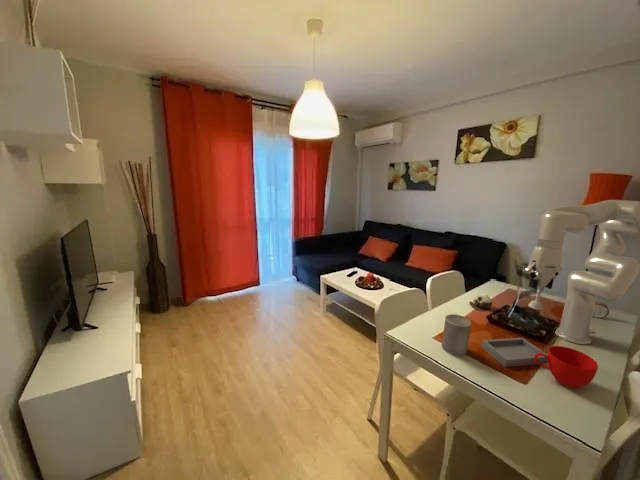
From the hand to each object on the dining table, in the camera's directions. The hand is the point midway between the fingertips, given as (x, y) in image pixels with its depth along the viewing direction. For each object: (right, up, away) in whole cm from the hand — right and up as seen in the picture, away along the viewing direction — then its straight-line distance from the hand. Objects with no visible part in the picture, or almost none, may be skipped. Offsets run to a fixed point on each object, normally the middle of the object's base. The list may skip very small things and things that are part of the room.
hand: (539, 287), depth 110 cm
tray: (-9, -28, +2) cm, 30 cm away
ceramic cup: (-2, -32, -11) cm, 34 cm away
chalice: (0, -9, +2) cm, 9 cm away
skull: (+3, -19, +44) cm, 48 cm away
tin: (+54, -22, +35) cm, 68 cm away
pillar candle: (-32, -27, +6) cm, 43 cm away
